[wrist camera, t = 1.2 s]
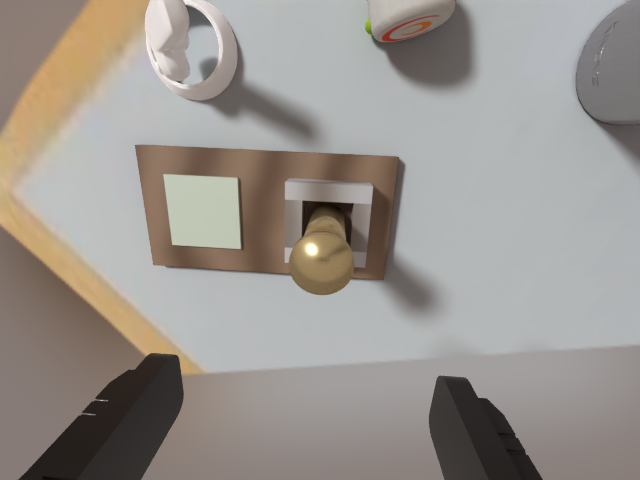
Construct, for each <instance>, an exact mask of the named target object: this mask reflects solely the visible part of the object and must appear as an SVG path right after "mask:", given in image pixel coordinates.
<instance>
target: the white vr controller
mask: <svg viewBox="0 0 640 480" xmlns="http://www.w3.org/2000/svg"><path fill="white" fill-rule="evenodd" d="M186 6H191V7H193V8H195V9H197V10H199V11H200V12H201V13H203V14H204V15H205V16H206V17H207V18H208V20H209V21H210V22H211V24H212V25H213V27H214V29H215V32H216V34H217V38H218V42H219V59H218V62H217V66H216V68H215V70H214V71H213V73H212V74H211V75H210V77H209V78H207V79H206V80H205V81H203V82H201V83H199V84H195V85H184V84H180V83H178V82H176V81H183V80H184V79H186V78H187V77H188V76H189V75H190V67H189V63H188V60H187V57H186V54H185V50H186V49H187V47H188V45H189V39H188V34H187V30H188V28H189V26H190V23H189V15H188V10H187V8H186ZM145 31H146V44H147V51H148V54H149V58H150V61H151V63H152V65H153V67H154V69H155V71H156V73H157V74H158V76H159V77H160V79H161V80H162V81H163V82H164V83H165V84H166V85H167V86H168V87H169V88H170V89H171V90H172V91H174V92H175V93H176V94H178V95H180V96H182V97H184V98H187V99H191V100H207V99H211V98H213V97H215V96H217V95H219V94H220V93H221V92H223V91H224V90H225V89H226V87H227V86H228V85H229V84H230V82H231V80H232V78H233V76H234V73H235V70H236V67H237V59H238V55H237V44H236V40H235V36H234V34H233V31H232V28H231V26H230V25H229V23H228V21H227V20H226V18H225V17H224V16H223V15H222V13H221V12H220V11H219V10H218V9H217V8H215V7H214V6H213V5H211V4H210V3H208V2H206V1H204V0H150V3H149V6H148V8H147V11H146V14H145Z"/></svg>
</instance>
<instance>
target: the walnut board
mask: <svg viewBox="0 0 640 480" xmlns="http://www.w3.org/2000/svg"><path fill="white" fill-rule="evenodd" d="M135 148H136V155H137V161H138V168H139V174H140V181H141V187H142V194H143V200H144V207H145V213H146V220H147V226H148V233H149V239H150V246H151V252H152V259H153V265H162V266H177V267H193V268H208V269H224V270H240V271H255V272H271V273H286V274H290V271H289V257H290V254H291V252H292V249H293V247H294V245H295V244H296V242H297V241H298V240H299V239H300V238H301V237H303V236H304V234H305V232H306V229H307V226H308V223H309V220H310V218H311V215H312V212H313V210H314V209H315V208H316V207H317V206H318V205H320V204H323V203H333V204H335V205H337V206H338V207H339V208H340V209H341V210H342V211H343V214H344V219H345V233H346V242H347V243H348V244H349V246H350V247H351V250H352V252H353V257H354V272H353V276H352V278H364V279H380V280H384V274H385V266H386V258H387V250H388V242H389V234H390V226H391V218H392V210H393V202H394V193H395V185H396V177H397V169H398V161H399V157H395V156H374V155H352V154H330V153H309V152H287V151H266V150H244V149H223V148H201V147H180V146H158V145H135ZM163 174H174V175H194V176H214V177H234V178H238V180H239V201H240V223H241V244H242V248H241V249H230V248H214V247H197V246H181V245H172V239H171V231H170V223H169V215H168V207H167V200H166V192H165V184H164V176H163Z"/></svg>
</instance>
